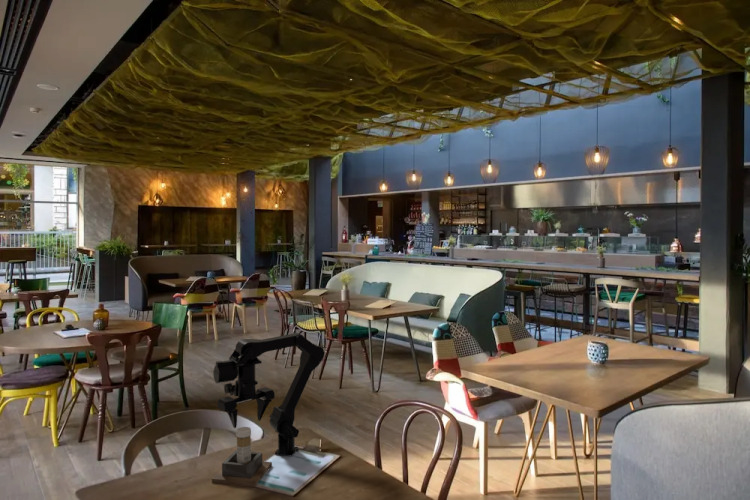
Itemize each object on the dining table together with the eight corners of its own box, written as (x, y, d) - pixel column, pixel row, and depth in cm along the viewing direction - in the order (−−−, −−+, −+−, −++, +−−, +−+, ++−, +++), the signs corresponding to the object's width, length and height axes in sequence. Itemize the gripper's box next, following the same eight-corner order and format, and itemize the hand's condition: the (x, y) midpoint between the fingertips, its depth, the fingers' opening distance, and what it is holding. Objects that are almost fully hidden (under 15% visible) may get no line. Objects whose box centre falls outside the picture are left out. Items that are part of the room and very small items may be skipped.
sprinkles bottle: (249, 465, 169) (248, 425, 168) (253, 471, 165) (252, 430, 164) (235, 468, 167) (234, 427, 166) (238, 474, 163) (238, 432, 162)
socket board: (232, 462, 174) (232, 446, 174) (271, 465, 172) (271, 450, 171) (211, 482, 161) (211, 466, 160) (254, 486, 158) (254, 470, 158)
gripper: (258, 367, 185) (258, 410, 186) (208, 378, 172) (209, 424, 173) (275, 374, 177) (275, 419, 178) (225, 386, 164) (226, 434, 165)
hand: (247, 423), depth 174 cm, fingers open, 9 cm apart
